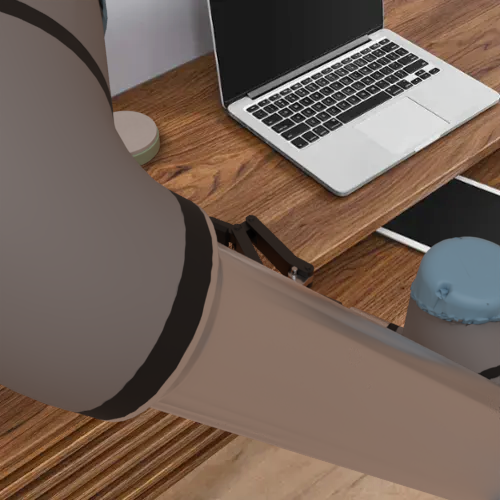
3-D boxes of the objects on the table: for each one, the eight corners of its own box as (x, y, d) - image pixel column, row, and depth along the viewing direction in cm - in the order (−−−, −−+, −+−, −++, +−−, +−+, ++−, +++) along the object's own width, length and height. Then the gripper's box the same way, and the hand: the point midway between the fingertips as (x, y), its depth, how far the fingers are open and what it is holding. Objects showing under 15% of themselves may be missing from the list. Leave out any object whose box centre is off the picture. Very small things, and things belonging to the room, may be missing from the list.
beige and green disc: (101, 177, 94) (99, 162, 92) (78, 136, 100) (75, 121, 98) (171, 156, 97) (169, 141, 95) (144, 117, 102) (143, 102, 101)
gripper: (266, 476, 64) (63, 373, 71) (378, 279, 79) (202, 211, 86) (267, 429, 58) (48, 323, 65) (388, 227, 73) (199, 159, 80)
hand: (135, 259), depth 76 cm, fingers open, 13 cm apart
